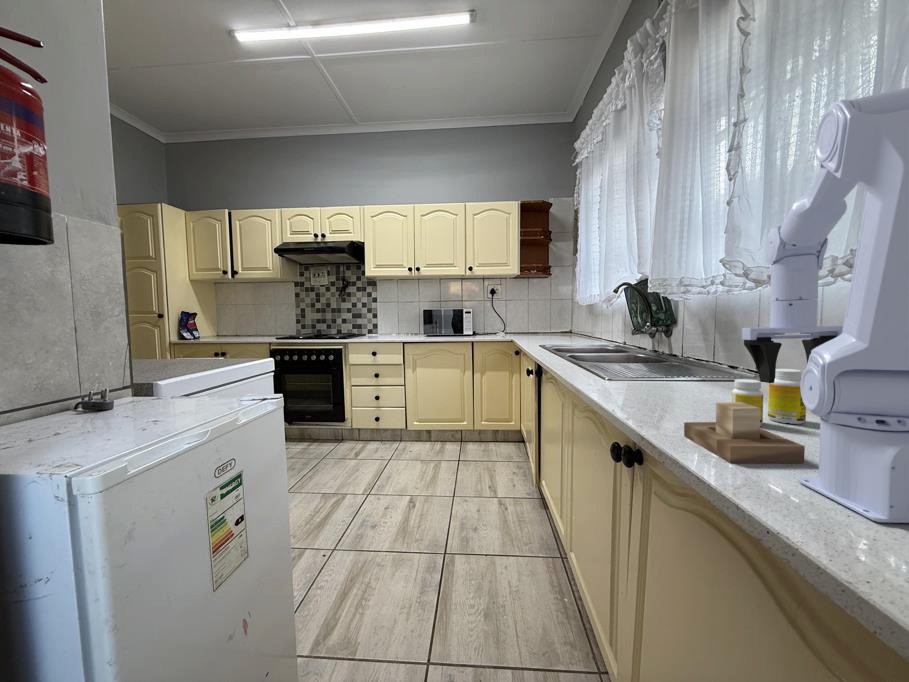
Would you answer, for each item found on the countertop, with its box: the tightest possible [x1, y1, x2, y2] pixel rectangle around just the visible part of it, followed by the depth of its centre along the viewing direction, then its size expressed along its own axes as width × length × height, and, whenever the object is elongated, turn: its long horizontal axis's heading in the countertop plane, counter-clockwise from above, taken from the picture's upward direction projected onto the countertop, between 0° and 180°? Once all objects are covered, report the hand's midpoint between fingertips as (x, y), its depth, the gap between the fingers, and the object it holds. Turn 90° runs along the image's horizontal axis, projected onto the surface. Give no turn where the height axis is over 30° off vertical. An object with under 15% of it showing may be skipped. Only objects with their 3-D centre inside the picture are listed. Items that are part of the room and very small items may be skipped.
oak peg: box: [715, 401, 761, 439], centre depth 57 cm, size 4×4×7 cm
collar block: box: [683, 421, 806, 464], centre depth 57 cm, size 12×10×2 cm
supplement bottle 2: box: [767, 368, 807, 425], centre depth 70 cm, size 6×6×10 cm
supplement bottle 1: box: [731, 378, 764, 426], centre depth 70 cm, size 5×5×8 cm
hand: (791, 381), depth 60 cm, fingers open, 7 cm apart
